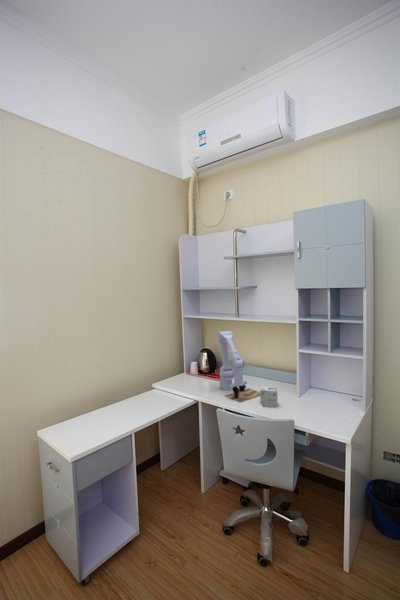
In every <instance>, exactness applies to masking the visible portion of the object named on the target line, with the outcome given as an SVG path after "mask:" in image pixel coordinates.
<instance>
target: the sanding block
mask: <svg viewBox="0 0 400 600" xmlns="http://www.w3.org/2000/svg"><path fill="white" fill-rule="evenodd" d="M232 393H233V396H234V397H235V394H234V391H233V390H232ZM238 398H239V399H242V398H245V392H243V391H241V390H239V391H238Z"/></svg>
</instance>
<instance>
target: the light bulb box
mask: <svg viewBox="0 0 400 600" xmlns="http://www.w3.org/2000/svg"><path fill="white" fill-rule="evenodd" d="M259 392H260V396H259V399H260V400H259V401H260V405H261V407H269V408H277V407H278V388H277V387H272V386H271V387H270V386H267V387H266V386H260V390H259Z"/></svg>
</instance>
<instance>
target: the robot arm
mask: <svg viewBox="0 0 400 600" xmlns="http://www.w3.org/2000/svg"><path fill="white" fill-rule="evenodd" d="M233 338H234V334H233V332H232V330H229V331H228V330H225V331H219V332H218V334H217V340H218V344H220V351H221V360H222V366H220V368H219V377H220V378H219V389H218V390H222V391H226V392H228V391H232V392H233V391H234V394H235V397H236V398H238V391H239V390H241V391H243V392H244V390H245V389H247V385H248V381H247V380H244V378H243V377H244V373H243V368H244V366H245V361H244V359H243V358H242V357H241V356H240V354H239V351H238V350H237V349H236V348H235V344H234V340H233ZM229 354H230V357H231V360H232V366H231V364H230V357H229ZM233 379H234V382H233Z"/></svg>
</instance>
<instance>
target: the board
mask: <svg viewBox="0 0 400 600" xmlns="http://www.w3.org/2000/svg"><path fill="white" fill-rule="evenodd" d="M244 392H245V398H242V399H239V398H236V397H234V396H233V392H232V393H229V394H226V395H224V397H226V398H228V399H230V400H232V401H235V402H238V403H239V404H241V403H244V402H247V401H250V400H253V399H256V398H258V397H259V398H260V391H258V390H254V389H252V388H249V387H248V388H245V390H244Z"/></svg>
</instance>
